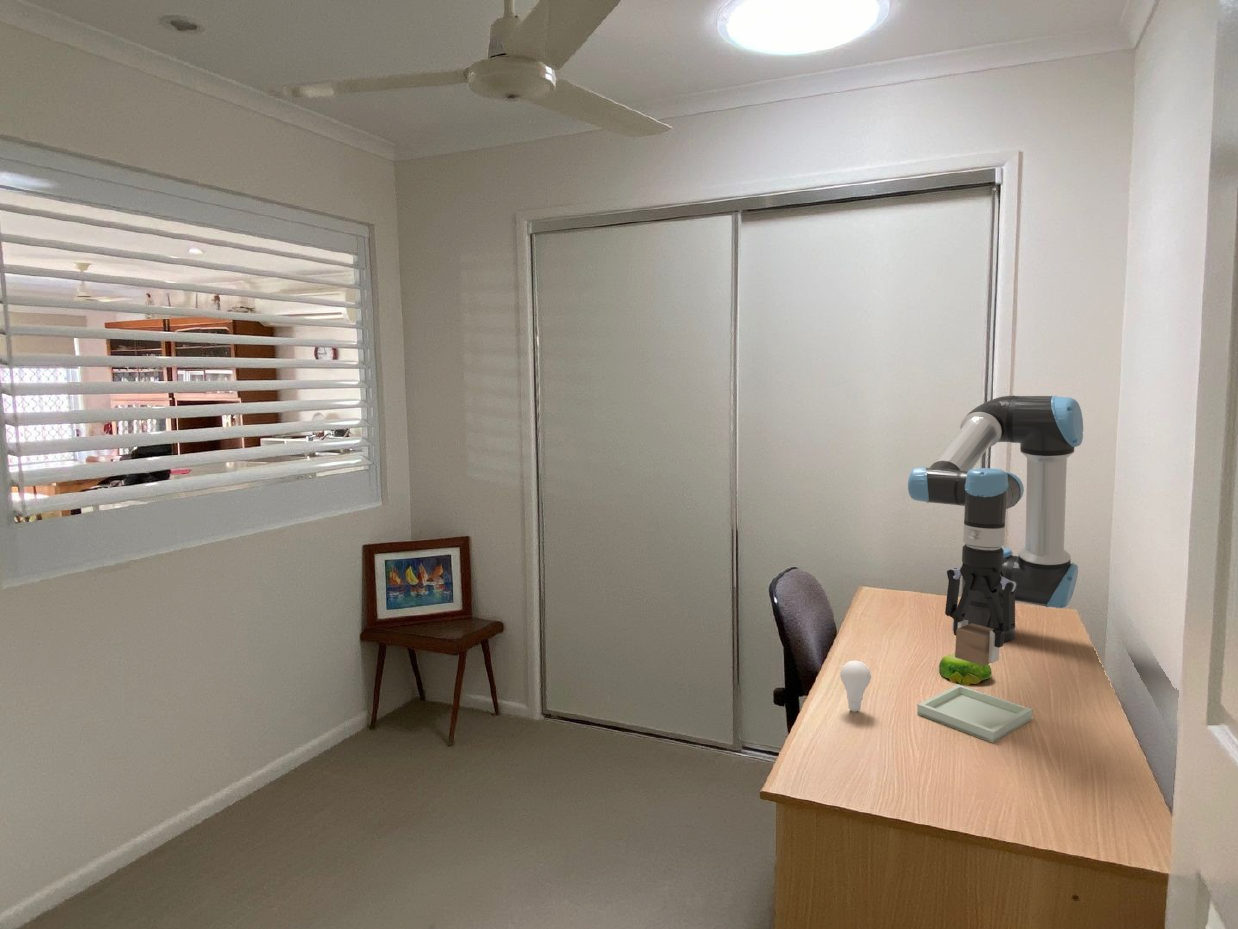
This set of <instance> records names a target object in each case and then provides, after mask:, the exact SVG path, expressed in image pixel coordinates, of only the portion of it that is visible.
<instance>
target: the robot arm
mask: <svg viewBox="0 0 1238 929" xmlns="http://www.w3.org/2000/svg"><path fill="white" fill-rule="evenodd" d="M1083 421H1084V419H1083V413H1082V409H1081V407H1080V404H1079V402H1078V401H1077V399H1075V398H1073V397H1065V396H1057V395H1005V396H1004V395H1003V396H999V397H996V398H993V399H991V400H987V401H986V402H983V403H982V404H980V405H978V406H976V407H975V408H974V409H972V410H971V411H970V412H969V413H967V415H965V417H964V418H962V420H961V423H960V426H959V427H960V428H959V429H960V430H959V431H958V432H957V433H956V435H955V436H954V437H953V438H952V440H950V442H949V443H948V444H947V446H946V447H945V448H944V450H943V451H942V452H941V453H940V454H939V455H938V457H937V458H936V459H935V460H934V462H932V464H931V465H930V466H929V467H926V466H922V467H915V468H912V470H911V471H910V473H909V476H908V481H907V490H908V494H909V496H910V498H911V499H912V500H913V501H917V502H919V501H920V502H925V503H927V504H929V503H932V504H941V505H950V506H952V505H953V506H962V507H964V514H963V515H964V517H963V536H962V542H963V543H964V545H963V546H962V548H961V549H962V552H961V562H962V565H961V566H960V568H956V567H954V568H950V569H947V570H946V576H947V580H948V582H947V592H946V601H945V602H946V603H945V611H944V614H945V615H946V616H947V617H950V618H951V619H953V621H952V630H953V635H954V636H956V630H957V629H958V628H961V627H963V626H966V625H968V624H971V623H973V624H977V625H981V626H984V627H988V628H992V629H994V630H991V631H990V642H989V658H988V662H989V664H994V663H995V662H998V661H999V659H1000V658H999V657H1000V648H1001V647H1003V646H1004V644H1005V642H1009V641H1012V640H1013V639H1014V638H1015V635H1016V634H1015V633H1016V629H1015V628H1016V602H1020V603H1025V604H1029V605H1030V604H1031V605H1037V606H1041V607H1045V608H1056V609H1064V608H1067V606H1068V605H1069V604H1070V602H1071V601H1072V597H1073V596H1074V591H1075V588H1076V585H1077V579H1078V574H1079V566H1078V565H1077V564H1075V563H1074V562H1072V563H1071V560H1072V558H1071V554H1070V553H1069V552H1068V551H1067V550H1065V529H1066V528H1065V526H1066V525H1065V524H1066V492H1067V464H1068V463H1067V462H1068V458H1069V457H1071V455H1074V453H1075V448H1076V447H1079V446H1081V445H1082V442H1083V438H1084V433H1083V432H1084V422H1083ZM998 443H1010V444H1011V443H1015V444H1020V449H1019V450H1020V453H1021V454H1022V455H1023V456H1024V457H1025V458H1026V494H1025V495H1026V498H1025V503H1026V504H1025V509H1026V510H1025V542H1024V543H1025V547H1023V548H1022V549H1020V550H1019V552H1018V555H1013V550H1012V549H1011V548H1009V547H1004V546H1005V531H1006V530H1005V528H1006V514H1007V509H1010V508H1013V507H1015V506H1016V505H1017V504H1018V503H1019V501H1021V499H1022V497H1023V495H1024V492H1025V490H1024V488H1025V487H1024V484H1023V481H1022V480H1021V479H1020V477H1018V476H1017V475H1016V474H1014V473H1012V472H1008V471H1005V470H1002V469H999V468H991V467H989V468H988V467H987V468H986V467H978V468H974V467H975V466H976V465H977V464H978V462H979V461H980V460H981V458H982V457H983V455H984V454H985V452H986V451H987V450H988V448H992V447H993V446H995V445H996V444H998ZM960 586H961V587H960ZM960 588H961V596H960ZM959 596H960V597H959Z"/></svg>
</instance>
